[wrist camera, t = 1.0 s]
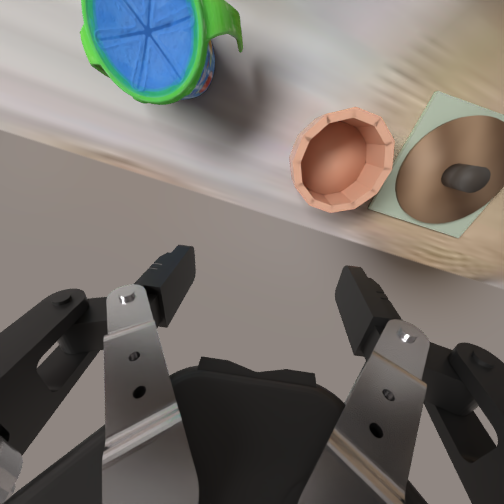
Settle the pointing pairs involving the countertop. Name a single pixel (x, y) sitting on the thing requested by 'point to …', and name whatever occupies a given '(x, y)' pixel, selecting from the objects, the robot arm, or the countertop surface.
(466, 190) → the lid
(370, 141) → the bowl
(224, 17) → the snack cup
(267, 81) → the countertop surface
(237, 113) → the countertop surface
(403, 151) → the mat
